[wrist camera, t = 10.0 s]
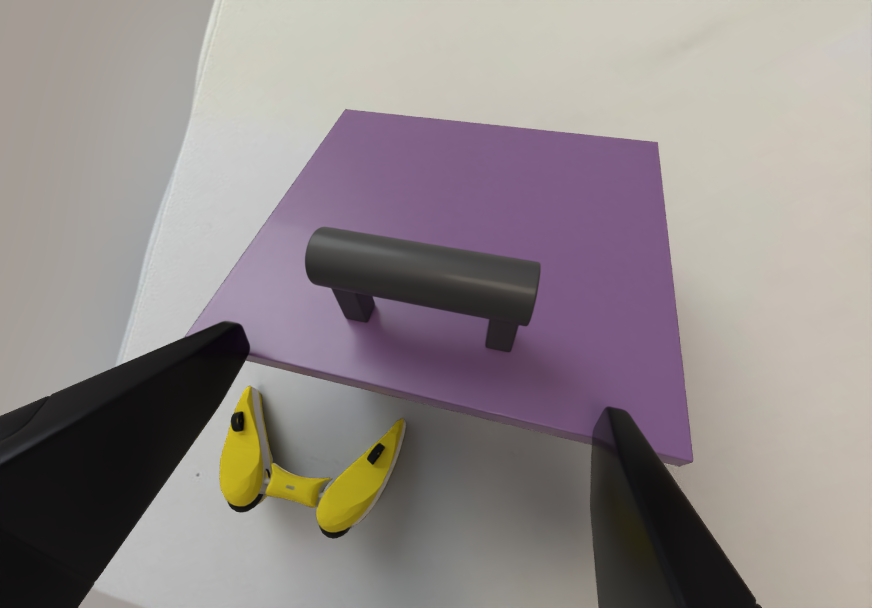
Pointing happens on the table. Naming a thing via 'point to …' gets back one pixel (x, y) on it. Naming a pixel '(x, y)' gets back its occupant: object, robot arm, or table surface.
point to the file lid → (473, 276)
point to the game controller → (258, 477)
